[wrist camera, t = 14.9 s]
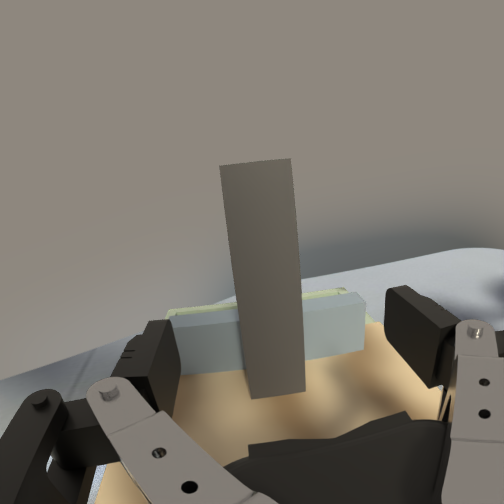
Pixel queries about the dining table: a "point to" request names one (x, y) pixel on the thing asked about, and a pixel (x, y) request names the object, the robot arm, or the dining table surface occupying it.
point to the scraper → (267, 293)
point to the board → (289, 407)
